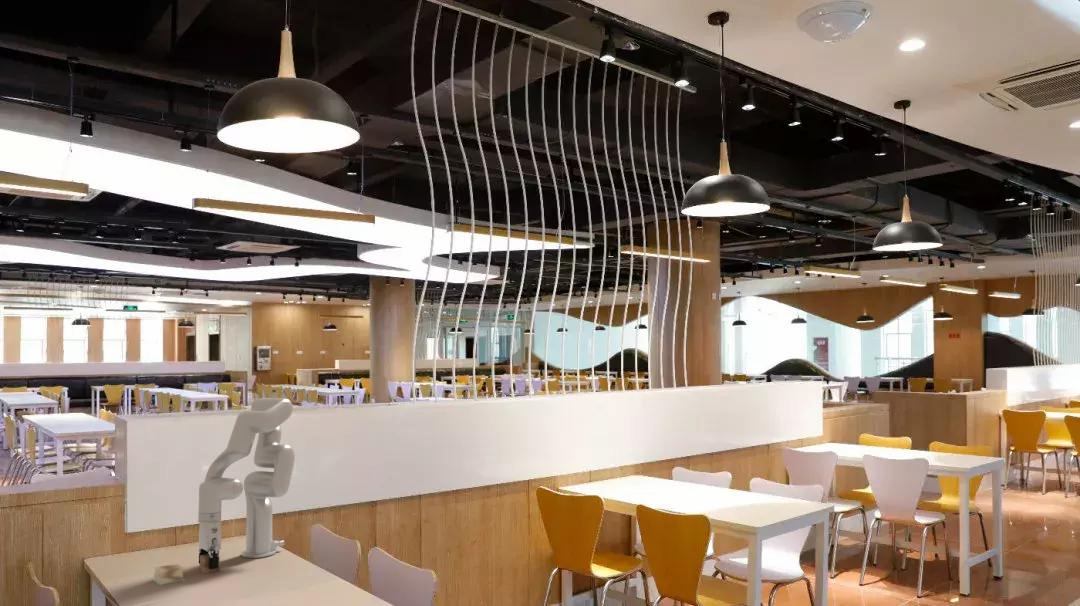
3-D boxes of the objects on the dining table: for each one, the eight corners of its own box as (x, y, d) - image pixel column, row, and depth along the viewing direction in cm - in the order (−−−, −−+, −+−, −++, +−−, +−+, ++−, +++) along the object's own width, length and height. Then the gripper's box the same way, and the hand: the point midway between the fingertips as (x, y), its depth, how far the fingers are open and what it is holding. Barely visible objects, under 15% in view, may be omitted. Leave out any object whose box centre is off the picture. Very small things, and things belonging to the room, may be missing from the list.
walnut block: (214, 569, 279) (214, 552, 280) (219, 572, 276) (219, 555, 276) (199, 572, 276) (199, 555, 276) (204, 575, 272) (204, 558, 273)
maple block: (176, 575, 271) (176, 563, 271) (182, 579, 265) (183, 567, 266) (154, 579, 266) (154, 567, 266) (161, 583, 261) (161, 571, 261)
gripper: (229, 519, 273) (228, 568, 272) (211, 512, 286) (210, 559, 284) (207, 522, 268) (206, 572, 266) (190, 514, 280) (189, 563, 279)
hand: (208, 566), depth 275 cm, fingers open, 9 cm apart
